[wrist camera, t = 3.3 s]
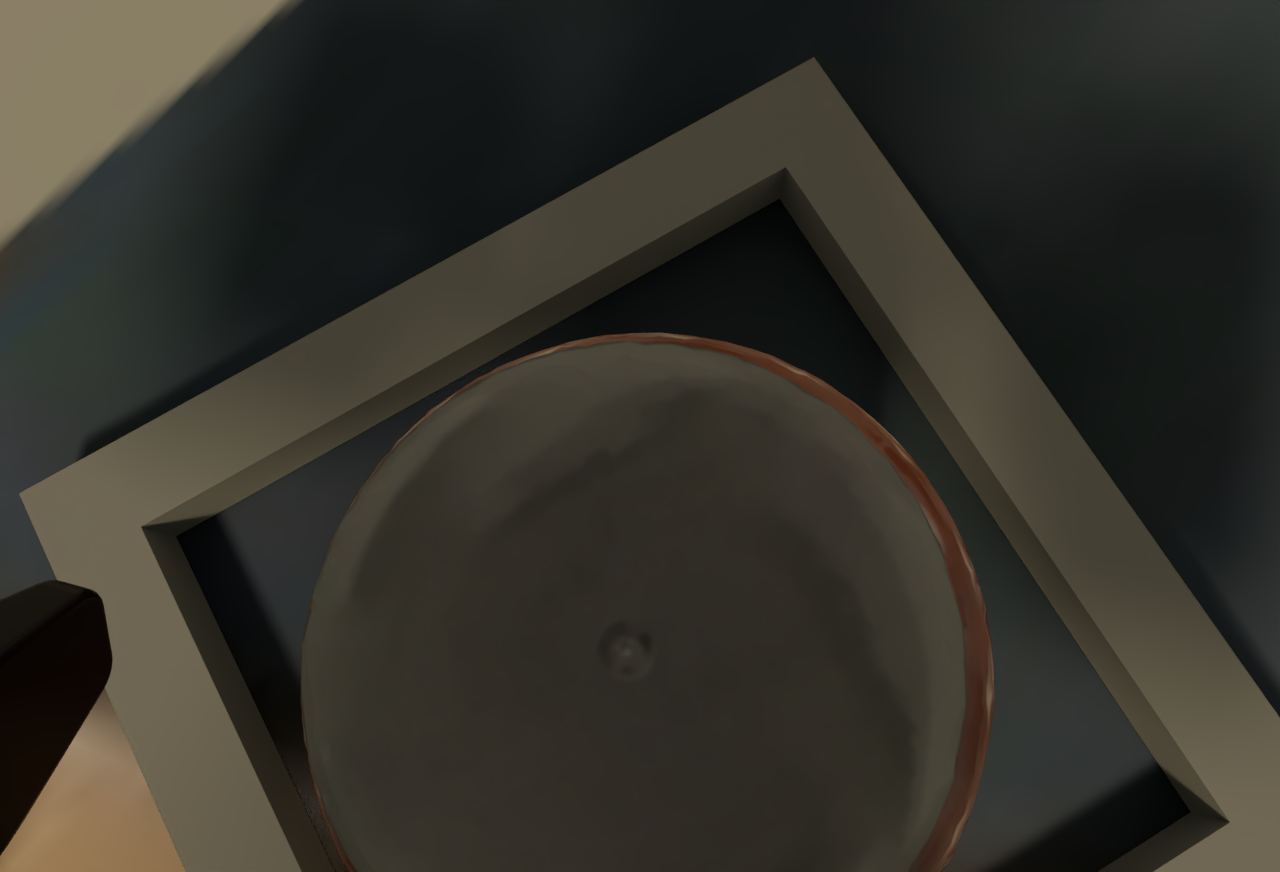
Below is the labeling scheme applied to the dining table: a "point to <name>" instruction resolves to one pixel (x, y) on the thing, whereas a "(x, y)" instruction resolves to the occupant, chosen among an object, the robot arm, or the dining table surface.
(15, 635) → the robot arm
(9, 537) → the dining table surface
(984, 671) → the supplement bottle
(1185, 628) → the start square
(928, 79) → the dining table surface
